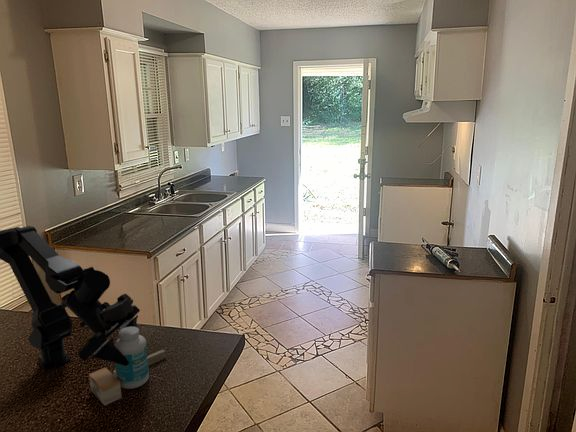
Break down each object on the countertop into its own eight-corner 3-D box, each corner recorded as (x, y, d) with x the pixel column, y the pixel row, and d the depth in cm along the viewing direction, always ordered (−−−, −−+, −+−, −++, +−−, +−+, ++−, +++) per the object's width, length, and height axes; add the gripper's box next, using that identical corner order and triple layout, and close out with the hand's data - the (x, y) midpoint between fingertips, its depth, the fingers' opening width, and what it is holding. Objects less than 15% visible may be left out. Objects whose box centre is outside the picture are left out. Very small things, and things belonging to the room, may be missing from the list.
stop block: (91, 390, 105) (88, 374, 104) (107, 383, 108) (105, 367, 107) (104, 405, 99) (102, 388, 98) (121, 397, 102) (119, 381, 101)
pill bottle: (139, 392, 103) (134, 340, 100) (111, 388, 104) (105, 337, 101) (154, 373, 110) (150, 325, 107) (128, 370, 112) (123, 322, 108)
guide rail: (113, 377, 110) (112, 370, 109) (163, 355, 119) (163, 349, 119) (115, 379, 109) (114, 372, 109) (166, 357, 119) (165, 350, 118)
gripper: (84, 307, 93) (136, 358, 94) (129, 275, 111) (173, 318, 112) (56, 337, 97) (106, 386, 97) (104, 301, 114) (147, 342, 115)
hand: (136, 355), depth 105 cm, fingers closed on pill bottle, 7 cm apart
